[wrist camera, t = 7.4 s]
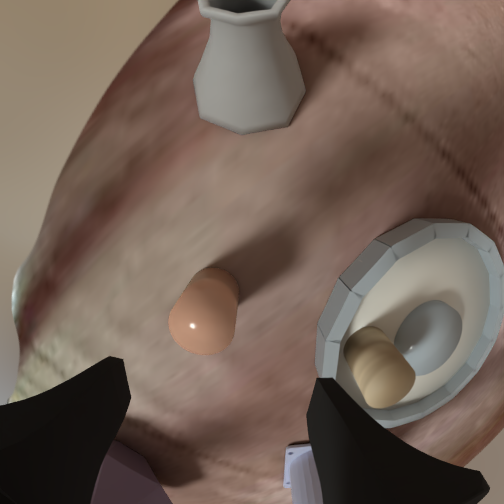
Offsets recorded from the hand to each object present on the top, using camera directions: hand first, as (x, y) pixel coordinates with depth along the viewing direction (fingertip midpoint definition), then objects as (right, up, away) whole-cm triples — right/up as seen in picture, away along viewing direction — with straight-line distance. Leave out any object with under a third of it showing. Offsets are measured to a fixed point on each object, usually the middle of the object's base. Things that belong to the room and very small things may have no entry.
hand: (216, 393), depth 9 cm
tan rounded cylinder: (+9, -2, +9) cm, 13 cm away
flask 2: (+1, +16, +6) cm, 17 cm away
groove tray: (+15, -1, +10) cm, 18 cm away
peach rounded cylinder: (-1, +2, +9) cm, 10 cm away
